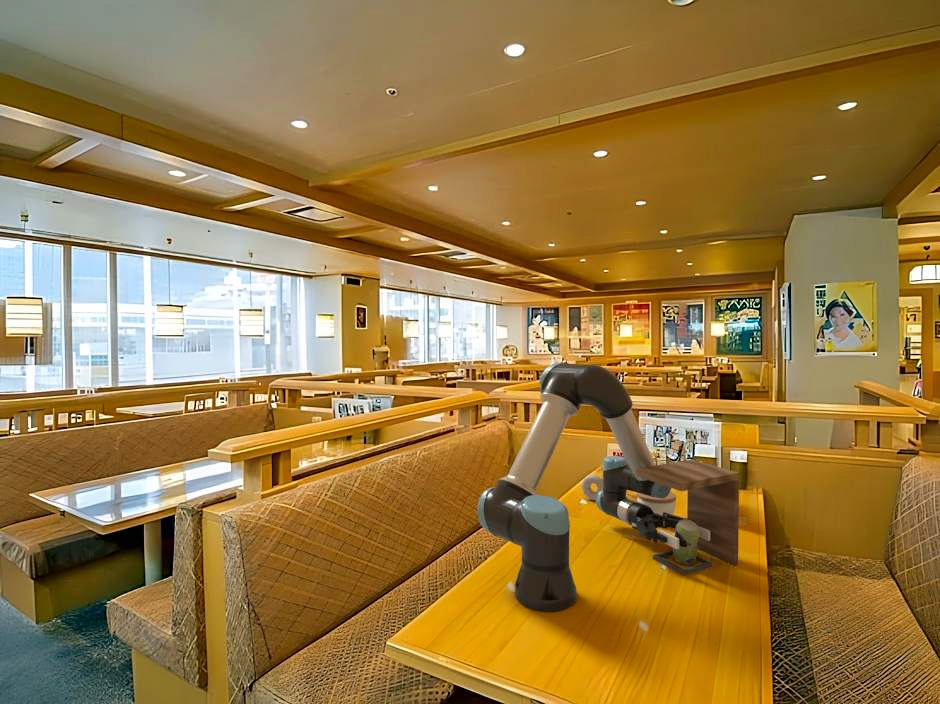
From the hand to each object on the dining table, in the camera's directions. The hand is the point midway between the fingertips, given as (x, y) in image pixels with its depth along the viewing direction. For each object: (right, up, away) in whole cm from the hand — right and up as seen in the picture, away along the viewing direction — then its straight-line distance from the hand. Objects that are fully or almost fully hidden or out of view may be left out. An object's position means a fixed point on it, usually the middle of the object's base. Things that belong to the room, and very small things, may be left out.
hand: (694, 540), depth 139 cm
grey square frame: (-2, -8, +4) cm, 9 cm away
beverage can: (-1, -8, +4) cm, 9 cm away
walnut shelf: (0, -8, +5) cm, 9 cm away
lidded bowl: (+3, -7, +36) cm, 37 cm away
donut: (-13, -6, +57) cm, 59 cm away
